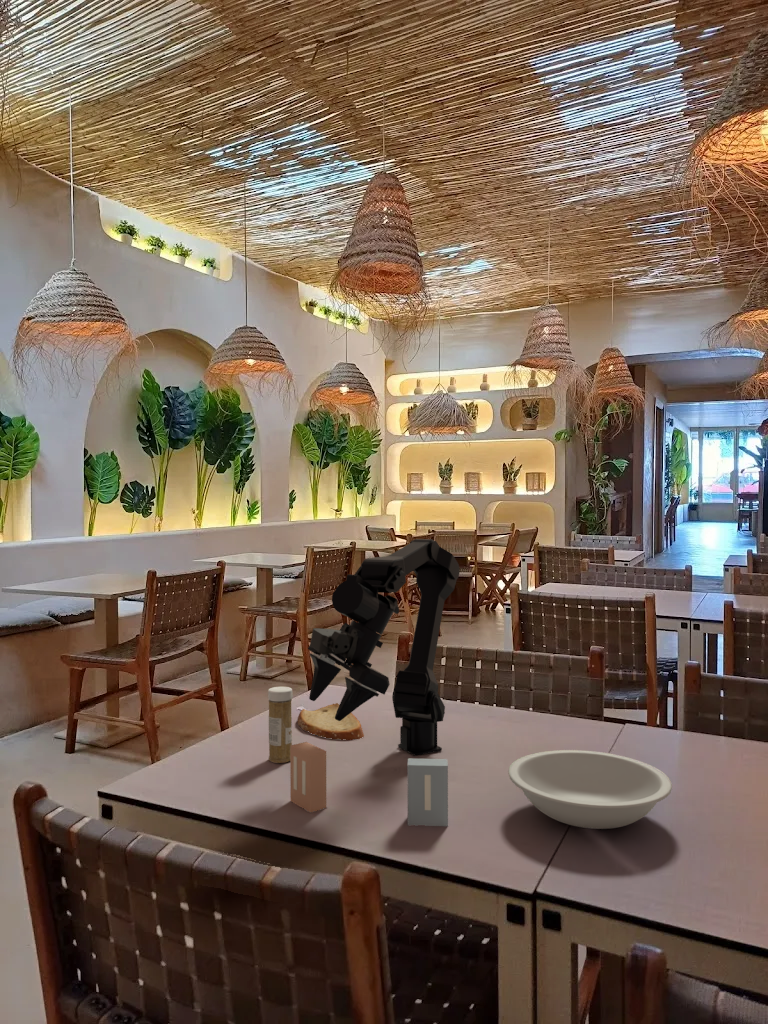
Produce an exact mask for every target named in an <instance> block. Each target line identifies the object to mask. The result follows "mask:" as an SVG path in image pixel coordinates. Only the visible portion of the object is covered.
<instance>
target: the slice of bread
mask: <svg viewBox="0 0 768 1024" xmlns="http://www.w3.org/2000/svg"><path fill="white" fill-rule="evenodd" d="M339 705H340V703H338V702H335V703H332V704H328V705H327V706H322V707H320V708H318V709H314V710H307V709H305V708H302V710H300V712H299V713H298V717H297V725H298V727H299V726H300V727H301V728H302V730H303V731H304V730H305V731H304V732H306V731H309V732H310V733H312V734H315V735H318V736H322V737H326V738H332V739H331V740H333V739H341V740H340V741H344V740H343V739H346V740H345V741H354V740H353V739H358V740H360V738H361V739H363V738H364V736H365V734H364V731H363V727H362V724H361V722H360V721H359V720H358V718H357V717H356V716H355V715H354V713H353V712H351V713H350V714H349V715H347V716H346V717H345V718H343V719H342V720H341V721H338V720H336V719H335V715H336V712H337V710H338V707H339ZM300 727H299V728H300ZM301 728H300V729H301ZM309 732H308V733H309ZM310 733H309V734H310ZM312 734H311V735H312ZM315 735H314V736H315ZM318 736H317V737H318ZM322 737H321V738H322ZM362 737H363V738H362ZM326 738H325V739H326Z"/></svg>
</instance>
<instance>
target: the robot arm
mask: <svg viewBox="0 0 768 1024" xmlns="http://www.w3.org/2000/svg"><path fill="white" fill-rule="evenodd" d="M412 572H413V573H414V574H415V575H416V577H415V578H416V579H415V580H416V581H415V582H416V585H417V587H418V590H419V591H420V594H421V595H420V601H419V605H418V612H417V617H416V624H415V628H414V629H415V630H414V634H413V640H412V644H411V645H412V646H411V650H410V656H409V663H408V665H407V666H406V667H405V668H404V669H403V670H398V672H397V674H396V678H395V679H396V680H395V684H394V688H393V691H392V705H393V706H392V707H393V710H394V715H395V718H397V719H401V720H402V722H401V726H400V727H399V728H400V729H399V730H400V731H399V732H400V733H399V735H400V740H399V741H400V742H399V744H397V747H398V748H399V749H401V750H403V751H405V752H407V753H409V754H411V755H412V756H414V757H415V756H421V755H427V754H431V753H436V752H441V751H443V748H442V747H441V746H439V745H438V722H443V721H444V716H445V714H446V711H445V710H446V706H445V704H444V702H443V700H442V699H441V696H440V695H439V693H438V692H439V683H438V681H437V678H436V676H435V673H434V671H433V669H434V666H435V665H434V664H435V659H436V652H437V646H438V642H439V635H440V630H441V629H440V628H441V623H442V619H443V618H442V617H443V611H444V605H445V601H446V600H447V599H448V597H449V596H450V595H451V594H452V593H453V592H454V590H455V587H456V584H457V580H458V579H459V577H460V564H459V562H458V560H456V557H455V556H454V554H452V553H451V552H450V551H448V550H446V549H445V548H444V547H441V546H440V545H439V543H438V542H437V541H436V540H434V539H433V538H432V539H423V538H419V539H418V538H416V539H413V540H411V541H410V542H409V543H408V544H407V545H404V546H403V547H402V548H399V549H397V550H396V551H394V552H393V553H391V554H389V555H387V556H386V555H385V556H378V557H377V556H376V557H370V558H365V559H364V560H363V561H362V563H361V564H360V566H359V567H358V569H357V570H356V572H355V573H354V574H349V573H348V574H347V575H346V579H345V581H342V582H341V583H340V584H338V586H336V588H335V589H334V591H333V592H332V596H331V603H332V606H333V608H334V609H335V611H336V612H338V613H340V614H341V615H343V616H345V617H347V618H349V619H351V622H350V624H348V623H347V622H345V623H344V624H342V626H341V627H340V629H339V630H338V629H332V628H319V627H318V628H312V631H311V632H312V634H311V637H310V641H309V642H310V643H309V646H308V647H307V650H308V651H310V652H309V657H310V658H311V660H312V663H313V666H314V669H313V675H312V681H311V686H310V690H309V692H310V693H309V696H308V698H309V700H310V701H312V702H315V701H316V700H317V699H318V698H319V697H320V696H321V695H322V694H323V692H324V691H325V690H326V689H327V687H329V685H331V682H332V681H333V680H334V679H335V678H336V677H337V675H339V673H340V672H341V670H342V669H341V668H340V667H338V666H341V667H342V668H344V669H345V670H347V671H349V674H348V677H347V676H345V678H344V680H345V685H346V689H345V692H344V694H343V697H342V698H341V701H340V703H339V707H338V710H337V712H336V715H335V719H336V720H338V721H341V720H342V719H343V718H345V717H346V716H347V715H349V714H350V713H353V712H354V711H356V710H357V709H358V708H359V707H361V705H364V703H366V702H368V701H369V700H370V699H373V698H374V697H379V695H380V694H381V695H384V696H385V695H386V692H387V690H388V689H389V687H390V684H391V683H390V679H389V677H388V676H386V675H385V674H384V673H381V672H380V671H378V670H376V669H374V668H373V667H372V666H373V664H372V663H371V662H369V660H370V658H371V656H372V655H373V653H374V650H375V648H376V647H378V648H380V649H382V647H383V645H384V642H382V641H380V639H381V637H382V634H383V633H384V631H385V629H386V627H387V626H388V624H389V621H390V619H391V617H392V616H393V614H400V608H399V604H398V598H396V597H394V596H392V595H390V594H391V593H397V592H398V591H400V590H401V588H402V587H403V586H404V585H405V584H406V581H407V580H406V579H407V578H406V576H407V575H409V574H410V573H412ZM380 593H381V594H380ZM382 593H385V594H386V595H385V596H384V595H383V594H382ZM311 652H312V653H311ZM335 664H336V665H335ZM337 665H338V666H337ZM349 677H350V678H349ZM379 693H380V694H379Z"/></svg>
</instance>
